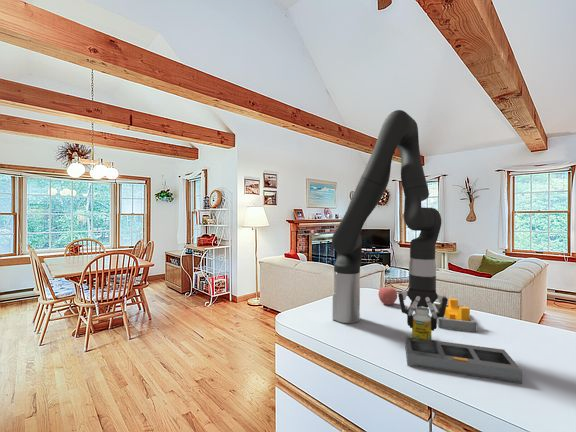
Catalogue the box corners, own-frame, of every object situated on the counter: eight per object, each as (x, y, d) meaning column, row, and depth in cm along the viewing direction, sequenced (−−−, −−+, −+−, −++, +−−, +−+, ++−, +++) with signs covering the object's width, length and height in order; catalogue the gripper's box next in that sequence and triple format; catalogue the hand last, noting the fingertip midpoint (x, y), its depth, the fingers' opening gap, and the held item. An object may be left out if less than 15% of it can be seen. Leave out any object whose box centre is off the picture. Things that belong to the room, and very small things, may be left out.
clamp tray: (438, 327, 99) (438, 318, 99) (431, 310, 117) (431, 302, 117) (476, 332, 96) (476, 322, 96) (462, 313, 114) (462, 305, 113)
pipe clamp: (443, 315, 112) (443, 298, 112) (455, 315, 112) (455, 298, 112) (455, 326, 100) (455, 308, 100) (469, 327, 100) (469, 308, 100)
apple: (375, 302, 128) (375, 283, 128) (390, 301, 129) (390, 283, 129) (384, 307, 120) (384, 288, 120) (400, 306, 122) (400, 287, 122)
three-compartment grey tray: (407, 365, 74) (407, 352, 74) (405, 346, 84) (405, 335, 84) (522, 384, 66) (522, 369, 66) (504, 361, 77) (504, 348, 77)
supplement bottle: (429, 337, 91) (430, 306, 91) (432, 344, 86) (433, 312, 86) (411, 335, 93) (411, 304, 93) (412, 342, 88) (413, 310, 88)
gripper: (397, 273, 88) (396, 330, 88) (451, 277, 83) (450, 336, 84) (396, 269, 95) (396, 321, 95) (446, 272, 91) (445, 327, 91)
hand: (421, 328), depth 89 cm, fingers closed on supplement bottle, 5 cm apart
